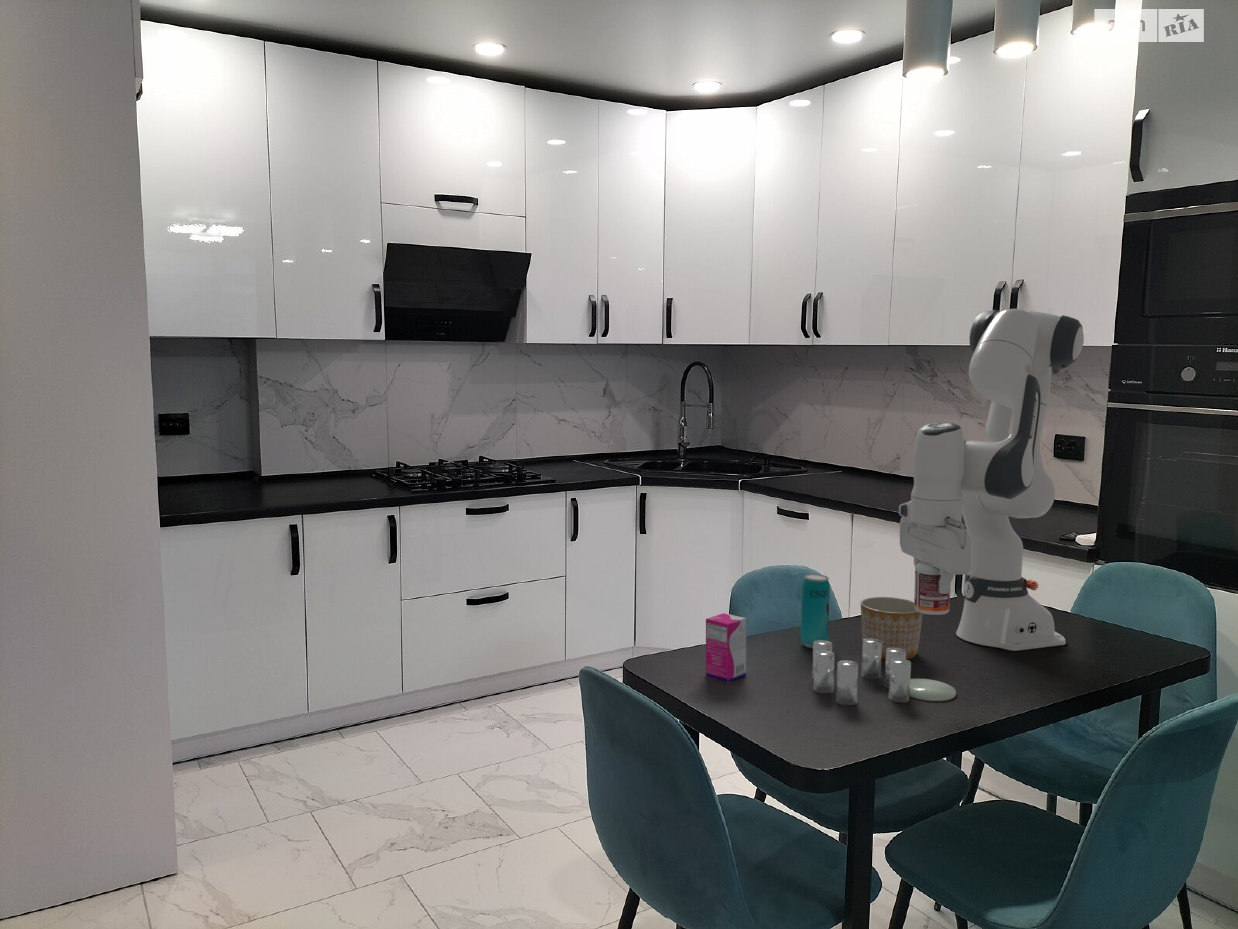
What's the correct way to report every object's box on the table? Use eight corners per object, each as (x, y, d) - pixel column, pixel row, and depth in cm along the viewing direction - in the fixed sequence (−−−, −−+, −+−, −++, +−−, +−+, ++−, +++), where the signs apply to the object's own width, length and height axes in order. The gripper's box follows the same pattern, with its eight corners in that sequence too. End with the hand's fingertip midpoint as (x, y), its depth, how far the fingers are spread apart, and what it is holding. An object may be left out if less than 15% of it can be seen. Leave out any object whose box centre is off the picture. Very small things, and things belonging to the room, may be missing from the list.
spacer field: (885, 672, 178) (886, 637, 177) (923, 701, 162) (925, 664, 162) (799, 676, 175) (800, 641, 174) (830, 706, 160) (831, 668, 159)
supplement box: (722, 668, 179) (724, 612, 178) (746, 675, 175) (748, 618, 174) (704, 675, 175) (705, 617, 174) (728, 683, 171) (729, 624, 170)
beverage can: (830, 649, 192) (832, 580, 190) (803, 649, 192) (805, 580, 190) (824, 641, 197) (827, 574, 196) (798, 640, 197) (800, 573, 196)
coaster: (938, 680, 173) (939, 677, 173) (966, 699, 164) (966, 696, 163) (889, 683, 172) (889, 679, 172) (914, 702, 162) (914, 699, 162)
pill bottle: (956, 614, 164) (958, 553, 162) (925, 616, 162) (927, 555, 161) (937, 605, 170) (939, 546, 168) (907, 607, 168) (909, 548, 167)
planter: (932, 653, 190) (934, 605, 188) (902, 667, 181) (904, 616, 180) (878, 640, 199) (880, 593, 197) (847, 652, 190) (848, 604, 189)
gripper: (983, 522, 154) (979, 601, 156) (925, 504, 174) (922, 574, 176) (948, 523, 153) (944, 603, 155) (894, 504, 173) (891, 575, 175)
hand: (932, 587), depth 166 cm, fingers closed on pill bottle, 6 cm apart
